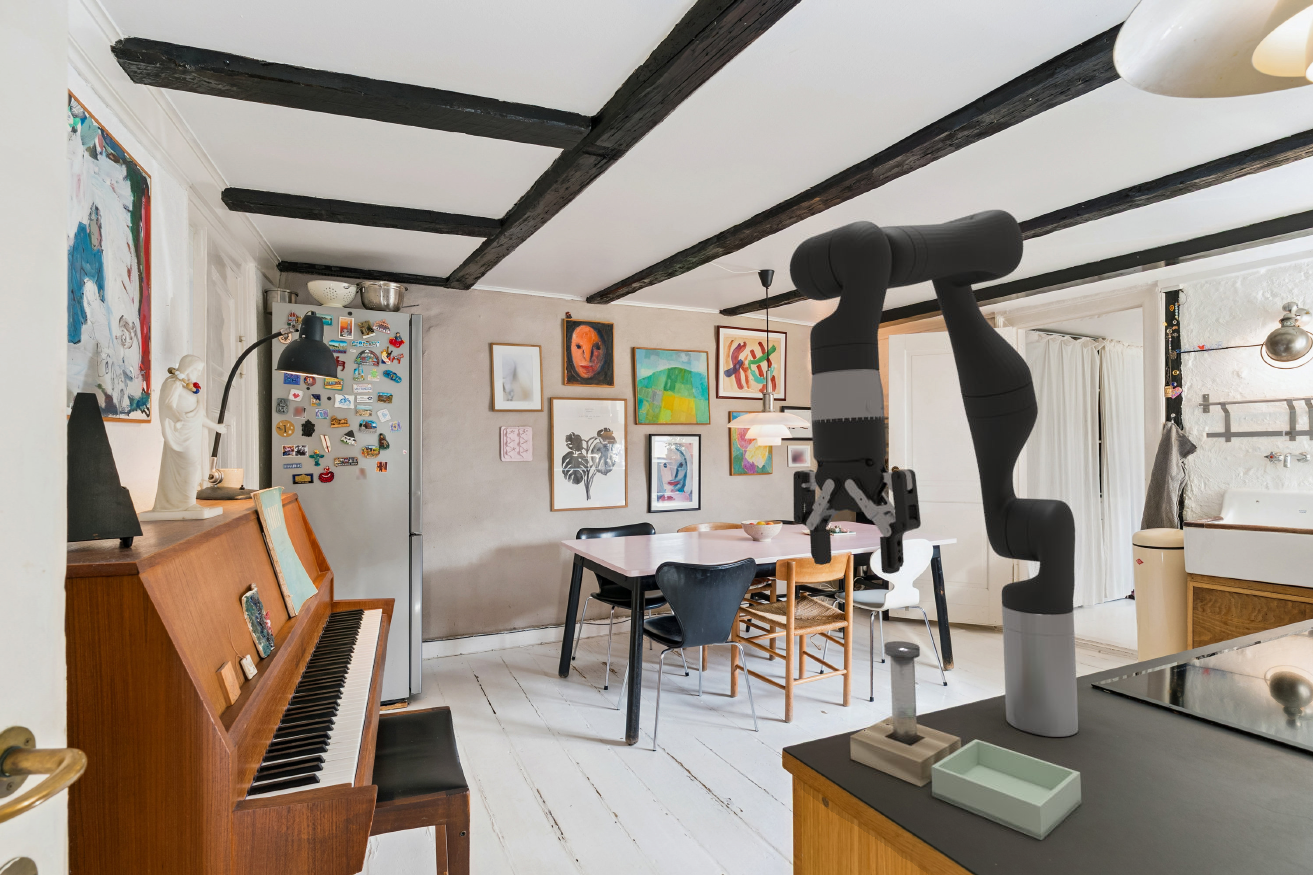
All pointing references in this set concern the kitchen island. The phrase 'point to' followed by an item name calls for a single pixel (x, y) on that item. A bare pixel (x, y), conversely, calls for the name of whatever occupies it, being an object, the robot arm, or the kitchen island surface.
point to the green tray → (1007, 787)
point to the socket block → (902, 751)
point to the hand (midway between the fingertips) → (855, 567)
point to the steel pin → (903, 690)
